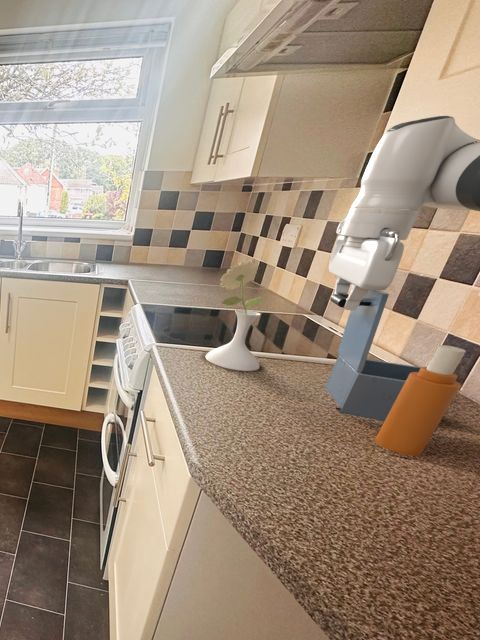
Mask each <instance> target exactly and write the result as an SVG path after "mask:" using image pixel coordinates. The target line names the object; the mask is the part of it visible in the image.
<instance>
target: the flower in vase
mask: <svg viewBox="0 0 480 640" xmlns="http://www.w3.org/2000/svg"><path fill="white" fill-rule="evenodd" d="M254 263H255V262H254V261H251V260H248V261H246V262H245V261H240V262H239V263H237V264H235V265H234V266H232V267H231V268H228V269H227V270H226V272H225V273H223V275H222V276H221V278H220V279H219V281H221V282H220V283H219V286H220V287H221V288H222V289H223V288H225V289H226V290H234V289H239V288H241V289H240V297H238V296H230V297H227V298H226V299H224V300H223V301H221V304H222V305H225V306H232V307H233V306H235V305H237V304H239V303H240V302H241V303H242V307H243V309H235V311H234V312H235V315H236V319H237V321H236V322H237V323H236V329H235V333H234V336H233V338H232V339H231V340H230V341H229V342H228V343H226V344H223V345H221V346H218V347H216V348H214V349H212V350H210V351H208V352H207V353H206V354H205V359H206V360H207V362H209V363H211V364H212V365H215V366H217V367H220V368H223V369H228V370H232V371H239V372H255V371H258V370H259V369H260V362H259V360H258V359H257V358H256V356H255V355H254V354H253V353H252V352H251V350H249V348H248V347H247V345H246V342H245V341H246V337H247V334H248V332H249V329H250V327H251V325H252V324H253V322H254V321H255V320H256V319H257V318H258V317H259V316H261V313H260V312H258V311H255V310H249V309H247V308H252V307H257V306H259V305H260V304H261V302H262V301H263V297H264V296H258V297H255V298H250V299H248V300H246V301H244V287H245V286H246V285H247V284H249V283H251V281H252V280H254V279H255V278H256V277H255V276H256V275H257V273H258V272H257V271H258V270H259V265H257V264H254Z"/></svg>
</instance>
